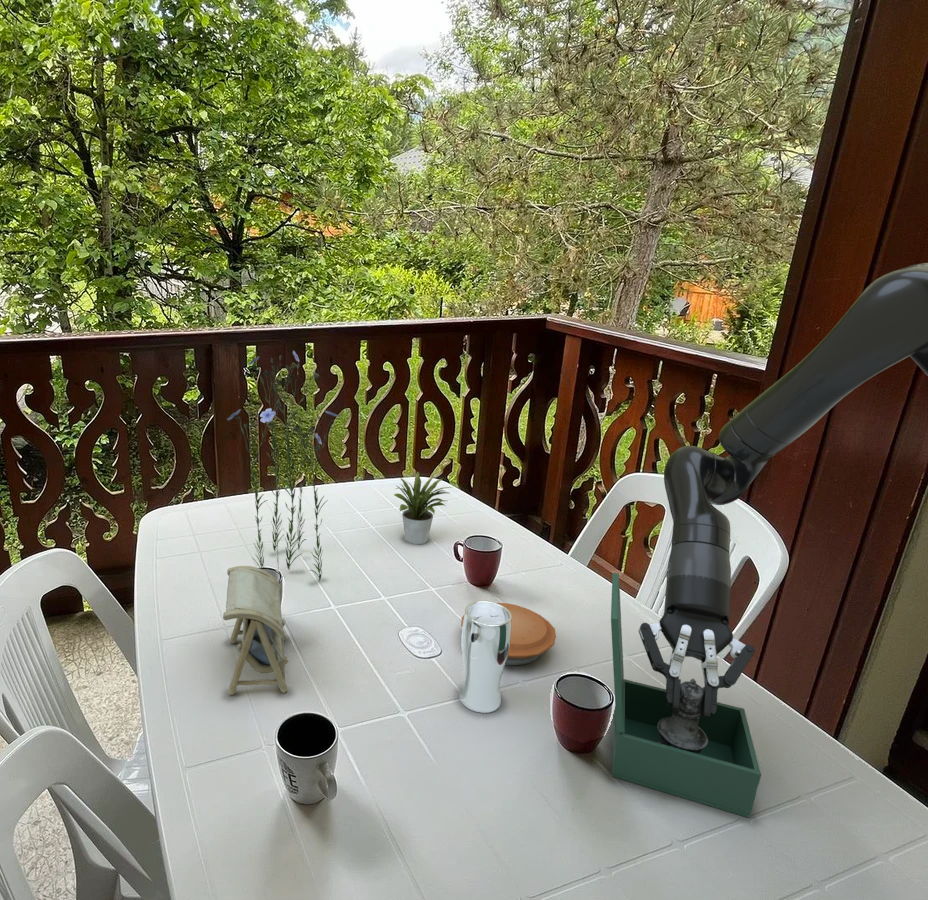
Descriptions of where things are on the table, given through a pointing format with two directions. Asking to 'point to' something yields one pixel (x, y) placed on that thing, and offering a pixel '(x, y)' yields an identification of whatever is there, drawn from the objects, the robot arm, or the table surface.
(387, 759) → the table surface
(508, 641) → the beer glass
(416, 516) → the house plant
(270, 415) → the wildflower
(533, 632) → the pie
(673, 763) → the green open box
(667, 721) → the stone chess piece
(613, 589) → the lid
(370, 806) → the table surface
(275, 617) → the swing bench
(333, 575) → the table surface
